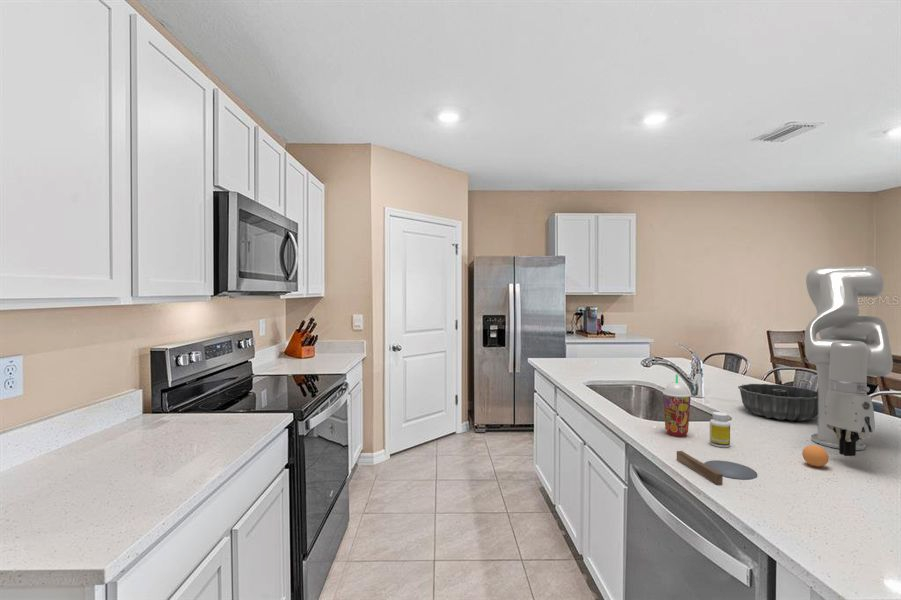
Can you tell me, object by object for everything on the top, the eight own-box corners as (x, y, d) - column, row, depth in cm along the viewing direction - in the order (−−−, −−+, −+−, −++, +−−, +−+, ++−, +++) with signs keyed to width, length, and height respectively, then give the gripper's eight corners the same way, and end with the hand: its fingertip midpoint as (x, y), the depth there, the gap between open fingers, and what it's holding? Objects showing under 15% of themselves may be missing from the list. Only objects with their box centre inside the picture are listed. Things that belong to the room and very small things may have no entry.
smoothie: (657, 430, 148) (657, 372, 147) (680, 429, 148) (680, 372, 148) (672, 438, 139) (672, 377, 139) (696, 437, 140) (696, 376, 140)
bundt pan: (722, 407, 177) (722, 383, 177) (780, 405, 180) (780, 381, 180) (777, 427, 151) (777, 399, 151) (844, 424, 154) (844, 396, 154)
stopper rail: (681, 459, 122) (681, 450, 122) (722, 484, 106) (722, 474, 106) (676, 459, 122) (676, 451, 122) (716, 484, 106) (716, 474, 106)
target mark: (733, 460, 121) (733, 459, 121) (769, 478, 109) (769, 477, 109) (693, 462, 120) (693, 461, 120) (725, 480, 108) (725, 479, 108)
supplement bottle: (733, 448, 130) (733, 416, 130) (713, 447, 131) (713, 415, 131) (725, 442, 136) (725, 411, 136) (706, 441, 137) (706, 410, 137)
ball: (814, 461, 120) (815, 442, 120) (834, 469, 115) (834, 449, 114) (796, 462, 119) (797, 442, 119) (815, 470, 114) (815, 449, 114)
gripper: (890, 393, 110) (890, 464, 110) (833, 382, 125) (833, 446, 125) (864, 393, 110) (863, 465, 109) (809, 382, 124) (809, 446, 124)
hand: (847, 454), depth 117 cm, fingers closed
